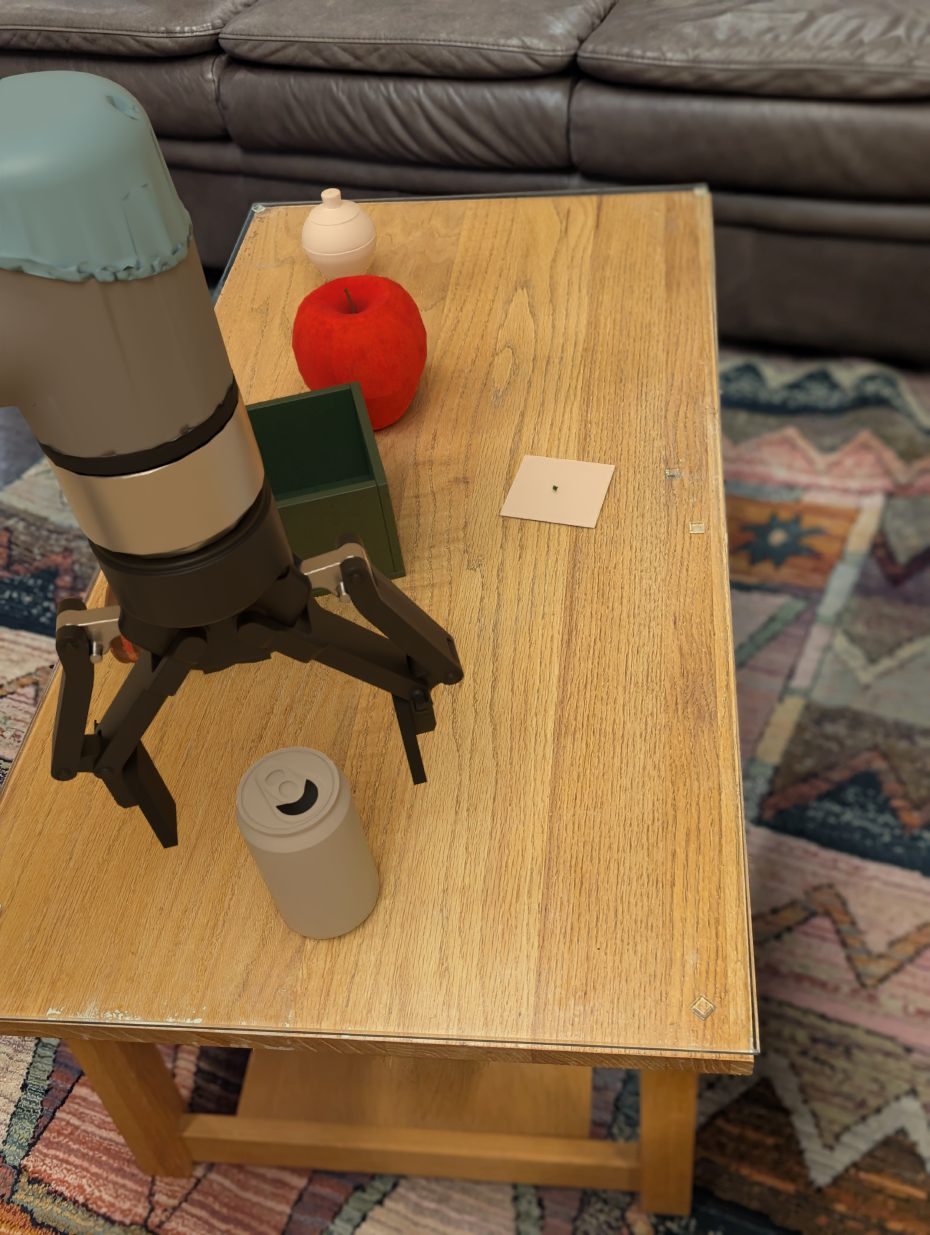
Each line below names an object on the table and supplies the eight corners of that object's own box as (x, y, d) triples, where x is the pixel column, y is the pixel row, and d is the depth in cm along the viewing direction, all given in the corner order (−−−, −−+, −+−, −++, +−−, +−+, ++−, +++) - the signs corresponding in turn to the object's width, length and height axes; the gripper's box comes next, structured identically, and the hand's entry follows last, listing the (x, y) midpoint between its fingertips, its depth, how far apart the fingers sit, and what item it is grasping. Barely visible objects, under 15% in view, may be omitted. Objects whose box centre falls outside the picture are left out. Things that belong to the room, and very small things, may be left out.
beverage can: (327, 965, 64) (281, 861, 55) (258, 902, 67) (205, 795, 58) (402, 890, 67) (370, 779, 58) (333, 833, 70) (292, 720, 61)
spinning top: (397, 306, 113) (379, 196, 104) (328, 328, 111) (304, 218, 103) (373, 274, 118) (354, 166, 109) (307, 294, 116) (282, 187, 108)
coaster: (615, 465, 92) (615, 458, 91) (594, 528, 87) (594, 520, 86) (524, 454, 94) (524, 447, 93) (499, 515, 89) (498, 507, 88)
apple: (393, 363, 106) (370, 236, 96) (463, 416, 99) (447, 284, 89) (289, 414, 102) (255, 287, 92) (355, 473, 95) (326, 342, 85)
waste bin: (236, 615, 84) (202, 524, 77) (224, 506, 94) (193, 416, 87) (406, 576, 85) (387, 482, 78) (377, 471, 95) (358, 380, 88)
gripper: (457, 379, 47) (499, 688, 62) (-126, 511, 45) (67, 795, 60) (499, 486, 41) (533, 793, 57) (-157, 640, 40) (63, 914, 55)
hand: (294, 795), depth 59 cm, fingers open, 13 cm apart
